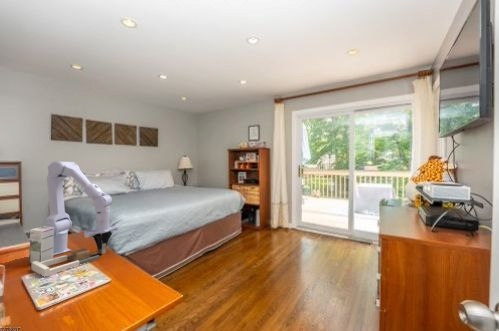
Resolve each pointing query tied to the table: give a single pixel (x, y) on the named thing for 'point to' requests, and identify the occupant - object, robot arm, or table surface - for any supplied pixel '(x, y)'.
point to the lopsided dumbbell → (86, 253)
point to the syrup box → (41, 244)
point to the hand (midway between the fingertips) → (101, 248)
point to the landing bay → (86, 259)
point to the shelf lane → (45, 271)
